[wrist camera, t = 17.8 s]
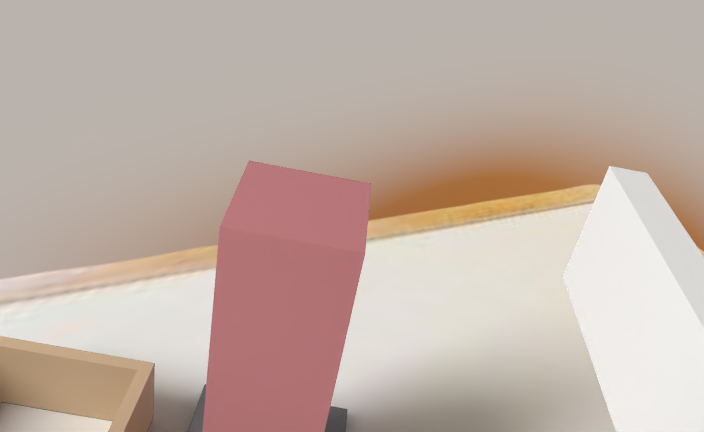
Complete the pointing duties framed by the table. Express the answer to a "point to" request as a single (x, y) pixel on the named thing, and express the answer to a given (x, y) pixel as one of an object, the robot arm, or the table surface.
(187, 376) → the table surface
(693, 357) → the robot arm
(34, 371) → the hollow rectangular frame
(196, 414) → the rubber mat
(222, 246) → the pink rectangular block
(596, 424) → the table surface
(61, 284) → the table surface
